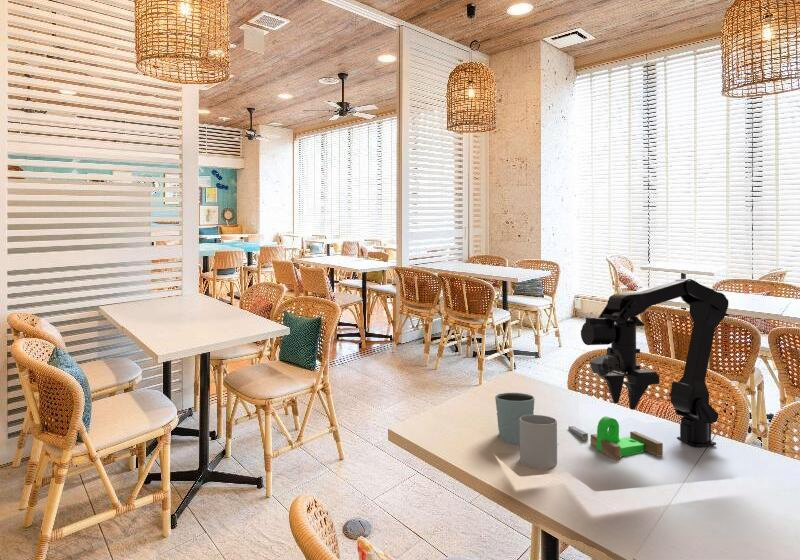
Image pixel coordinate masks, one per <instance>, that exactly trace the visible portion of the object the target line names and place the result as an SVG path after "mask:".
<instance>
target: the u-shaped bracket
mask: <svg viewBox="0 0 800 560" xmlns="http://www.w3.org/2000/svg"><path fill="white" fill-rule="evenodd" d="M567 428H568V430H569V432H571V433H572V434H574V436H576V437H577V438H578V439H580V440H581V441H585V442H586V441H589V433H588V432H586V431H584V430H582V429H580V428H578V427H576V426H574V425H572V426H571V425H568V427H567Z"/></svg>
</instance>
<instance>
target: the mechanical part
mask: <svg viewBox="0 0 800 560" xmlns="http://www.w3.org/2000/svg"><path fill="white" fill-rule="evenodd" d="M596 428H597V429H596V434H597V447H596V448H595V449H596V450H597V451H599V450H600V451H602V447H601V440H609V441H611V442H613V443H615V444H617V445H619V446H621V457H624V456H626V457H627V456H630V455H631V456H632V455H635V454H640V453H643V452H645V450H644V446H645V443H642V442H640V441H638V440H636V439H634V438H631V437H630V436H627V437H620V425H619V422H618V420H617V419H615V418H612V417H609V416H603V417H601V418H600V420H599V421H598V424H597V427H596ZM600 451H599V452H600Z"/></svg>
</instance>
